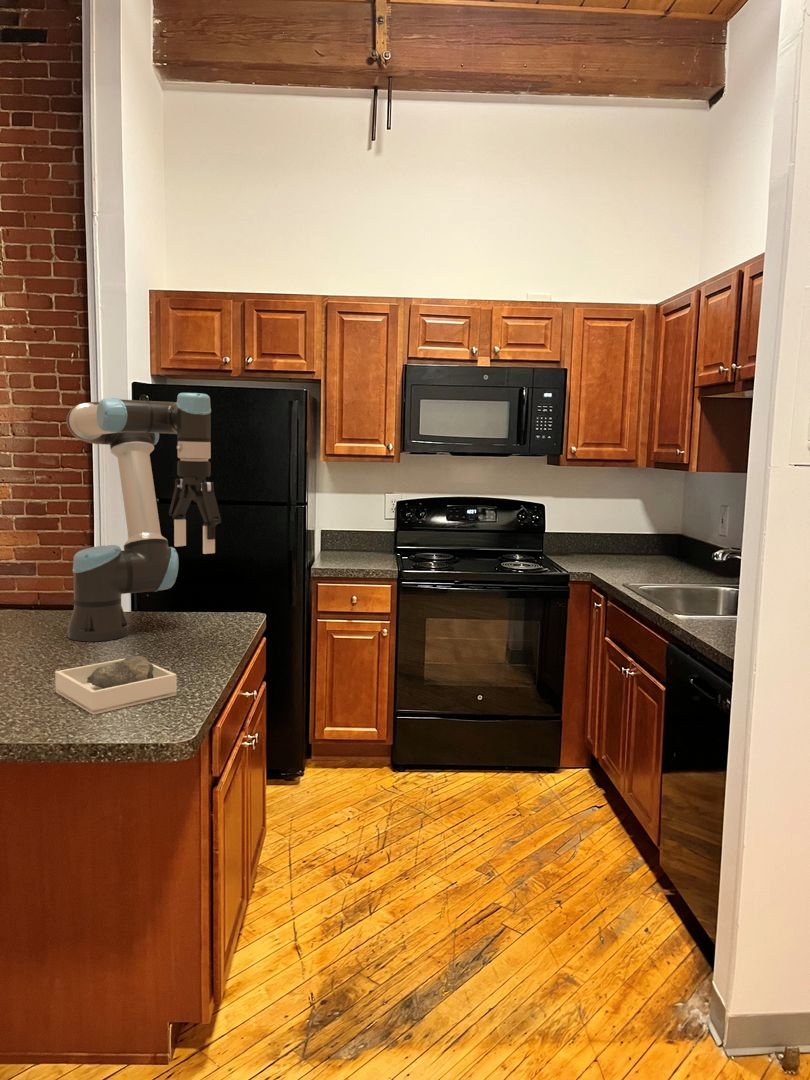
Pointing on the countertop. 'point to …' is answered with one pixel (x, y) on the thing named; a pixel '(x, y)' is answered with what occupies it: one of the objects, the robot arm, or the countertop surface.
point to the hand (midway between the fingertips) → (194, 549)
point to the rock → (122, 672)
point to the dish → (112, 689)
